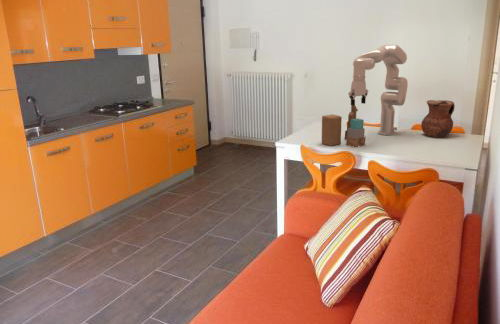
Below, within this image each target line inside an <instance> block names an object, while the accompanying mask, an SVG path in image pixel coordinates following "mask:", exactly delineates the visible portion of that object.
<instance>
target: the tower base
mask: <svg viewBox="0 0 500 324" xmlns="http://www.w3.org/2000/svg"><path fill="white" fill-rule="evenodd" d="M348 145H350V146H349V147H352V146H354V147H353V148H355V147H356V148H359V147H358V146H360V147H364V146H363V145H365V146H366V136H364V137H362V138H358V139H354V138H350V137H346V139H345V146H348Z"/></svg>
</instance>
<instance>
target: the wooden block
mask: <svg viewBox="0 0 500 324" xmlns="http://www.w3.org/2000/svg"><path fill="white" fill-rule="evenodd" d="M341 143H342V116H341V115H338V114H327V115H322V117H321V144H323V145H326V146H329V147H332V146H339V145H340V144H341Z"/></svg>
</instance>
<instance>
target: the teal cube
mask: <svg viewBox="0 0 500 324" xmlns="http://www.w3.org/2000/svg"><path fill="white" fill-rule="evenodd" d="M350 128H352V129H356V130H358V129H363V128H364V119H363V120H362V118H356V119H351V126H350Z"/></svg>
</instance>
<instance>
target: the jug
mask: <svg viewBox="0 0 500 324" xmlns="http://www.w3.org/2000/svg"><path fill="white" fill-rule="evenodd" d="M426 104H427V106H428V113H427V114H426V116H424V118H423V119H422V121H421V130H422V132H423V134H425V135H426V136H428V137H431V138H444V137H447V136H448V135H449V134H451V132H452V130H453V127H454V121H453V119H452V115H453V113H454V111H455V102H454V101H451V100H446V99H445V100H443V99H442V100H440V99H439V100H436V99H435V100H434V99H429V100H427V101H426Z"/></svg>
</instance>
